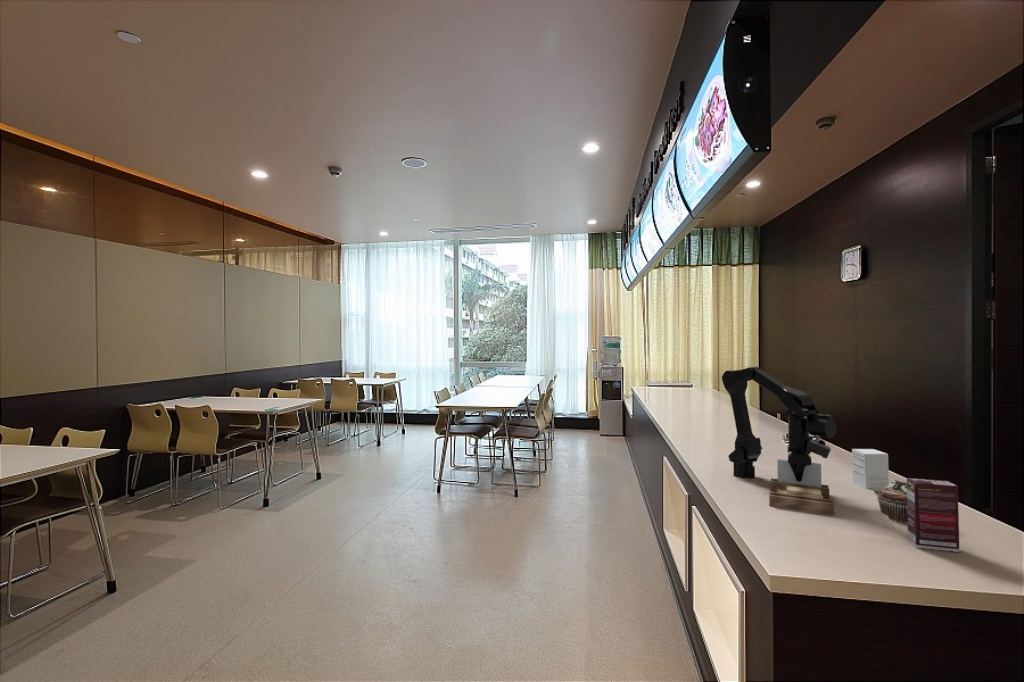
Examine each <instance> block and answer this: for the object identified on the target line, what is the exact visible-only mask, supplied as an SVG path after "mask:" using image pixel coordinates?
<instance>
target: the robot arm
mask: <svg viewBox="0 0 1024 682" xmlns="http://www.w3.org/2000/svg"><path fill="white" fill-rule="evenodd" d="M721 381H722V384H723V387H724V390H726V391H727V394H728V395H730V400H731V401H730V402H731V406H732V412H733V418H734V422H735V429H736V437H735V440H734V450H733V451H732V452H731V453H729V454H728V460H729V462H731V463H733V477H736V478H741V479H756V466H755V465H754V463H756V462H758V459H759V457H760V456H761V455H762V450H763V446H762V445H761V438H760V437H757V436H755V434H754V433H753V430H752V425H751V420H750V414H749V408H748V404H747V403H748V402H747V399H746V391H747V388H748V385H749V384H748V382H749V381H753V382H755V383H757V384H758V385H759V386H761V387H762V388H763V389H766V390H767V391H769V392H770V393H772V394H773V395H774V396H776V397H777V399H778V401H780V404H782V406H784V407H785V408H786V411H785V412H783V413H781V416H782V417H786V418H788V419H787V421H788V424H787V425H788V429H787V430H788V431H787V433H788V436H787V437H788V439H787V440H788V444H787V453H788V454H787V460H788V463H789V464H790V466H791V468H792V471H793V473H794V475H795V477H796V480H797V481H798V482H801V480H802V476H803V472H804V468H805V466H807V465H811V463H812V456H811V455H810V454H814V455H815V454H816V455H818V456H820V457H821V458H824V459H828V457H829V454H830V453H831V450H832V449H831V447H830V446H828V445H827V444H826V441H825V440H823V439H818V440H813V439H811V435H812V436H818V437H824V438H829V439H830V438H831V439H832V438H834V437H835V435H836V434H837V430H838V429H837V428H838V426H837V425H836V421H835V420H834V419H833V415H832V414H822V413H821V412H820V410H819V409H818V407H817V406H816V405H815V403H814V402H813V399H812V396H811V395H810V394H809V393H807V392H804V391H803V390H799V389H796V388H793V387H790V386H787V385H786V384H784V382H781V381H780V380H778V378H776V377H773V376H772V375H771V374H769V373H768V372H766V371H764V370H763V369H762V368H761V367H759V366H748V367H746V368H743V369H735V370H734V369H733V370H726V371H724V372H723V374H722V376H721Z"/></svg>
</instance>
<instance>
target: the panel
mask: <svg viewBox="0 0 1024 682" xmlns="http://www.w3.org/2000/svg"><path fill="white" fill-rule="evenodd" d="M777 479H778V482H783V483H791V484H799V485H807V486H815V487H821V484H822V463H820V462H811V465H807V466H805V468H804V472H803V476H802V480H801V482H798V481H797V480H796V477H795V475H794V473H793V471H792V468H791V466H790V464H789V463H788V459H779V458H777Z"/></svg>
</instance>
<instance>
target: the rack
mask: <svg viewBox="0 0 1024 682" xmlns="http://www.w3.org/2000/svg"><path fill="white" fill-rule="evenodd" d="M787 486H792V487H800V488H808V489H816V490H821V495H822V496H823V498H815V497H808V496H800V495H793V494H786V493H778V492H777V491H778V490H785V491H787ZM768 499H769V507H775V508H783V509H790V510H796V511H797V510H798V511H803V512H810V513H816V514H817V513H818V514H821V515H822V514H825V515H830V516H835V504H834V499H830V487H829V485H828V484H822V483H821V487H815V486H807V485H799V484H791V483H783V482H778V478H774V477H773V478H770V491H769V497H768Z"/></svg>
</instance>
